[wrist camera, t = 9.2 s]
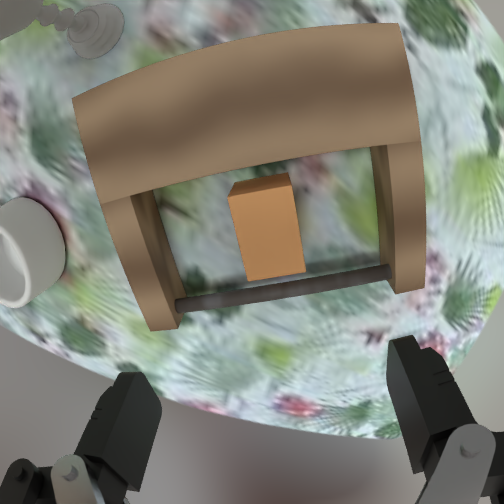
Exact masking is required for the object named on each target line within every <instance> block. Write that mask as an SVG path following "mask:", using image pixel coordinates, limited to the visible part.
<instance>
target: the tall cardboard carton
mask: <svg viewBox="0 0 504 504" xmlns="http://www.w3.org/2000/svg"><path fill="white" fill-rule="evenodd" d="M227 198H228V202H229V206H230V211H231V215H232V219H233V223H234V227H235V231H236V235H237V239H238V243H239V247H240V251H241V255H242V259H243V264H244V268H245V272H246V276H247V280H248V281H254V280H260V279H267V278H273V277H279V276H285V275H291V274H297V273H303V272H306V268H305V262H304V255H303V249H302V243H301V237H300V231H299V225H298V219H297V213H296V207H295V202H294V196H293V191H292V185H291V182H290V178H289V175H288V172H287V173H282V174H276V175H271V176H265V177H260V178H255V179H250V180H245V181H240V182H235V183H234V185H233V187H232V189H231V191H230V193H229V195H228V197H227Z"/></svg>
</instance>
